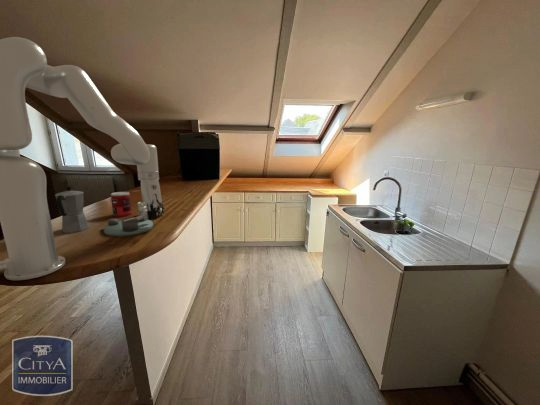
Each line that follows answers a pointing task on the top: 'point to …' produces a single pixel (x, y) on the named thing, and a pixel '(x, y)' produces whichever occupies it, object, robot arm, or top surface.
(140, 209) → the valve
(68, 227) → the coffeepot
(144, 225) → the instrument base
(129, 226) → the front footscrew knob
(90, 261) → the top surface
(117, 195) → the canned food
